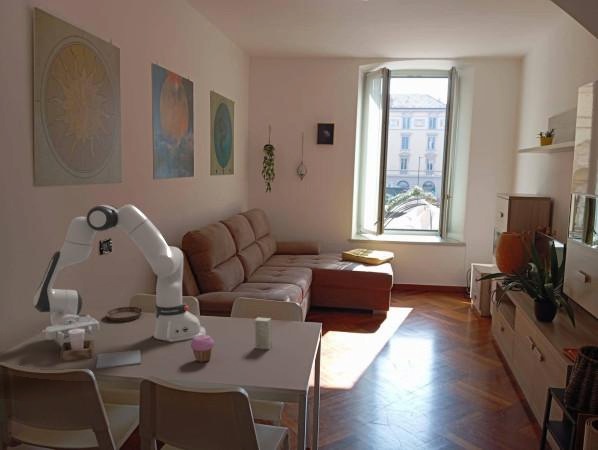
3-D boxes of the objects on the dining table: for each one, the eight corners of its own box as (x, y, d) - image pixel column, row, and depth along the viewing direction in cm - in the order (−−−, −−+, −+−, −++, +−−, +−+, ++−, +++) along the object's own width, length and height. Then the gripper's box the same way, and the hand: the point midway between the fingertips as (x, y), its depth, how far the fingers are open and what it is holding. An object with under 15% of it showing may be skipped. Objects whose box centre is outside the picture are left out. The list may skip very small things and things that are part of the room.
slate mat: (140, 351, 214) (140, 350, 214) (140, 364, 200) (140, 362, 200) (98, 355, 209) (98, 354, 209) (96, 368, 196) (95, 367, 196)
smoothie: (81, 350, 215) (79, 317, 213) (89, 353, 211) (87, 320, 209) (66, 354, 210) (64, 320, 208) (74, 358, 206) (72, 323, 204)
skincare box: (272, 346, 220) (272, 318, 218) (268, 349, 216) (268, 321, 214) (258, 344, 222) (257, 316, 220) (254, 348, 217) (254, 319, 216)
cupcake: (218, 360, 204) (217, 335, 203) (199, 366, 198) (198, 340, 197) (205, 354, 210) (205, 330, 209) (186, 359, 205) (186, 335, 203)
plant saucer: (122, 325, 249) (122, 318, 248) (97, 319, 258) (97, 313, 258) (150, 315, 264) (150, 309, 263) (126, 310, 273) (126, 304, 273)
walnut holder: (94, 348, 217) (93, 339, 217) (91, 357, 207) (91, 349, 206) (64, 350, 214) (63, 342, 214) (60, 361, 203) (59, 352, 203)
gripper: (40, 323, 213) (48, 331, 202) (92, 314, 225) (102, 321, 214) (41, 338, 214) (49, 347, 203) (93, 328, 226) (103, 336, 215)
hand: (77, 334), depth 209 cm, fingers open, 8 cm apart
